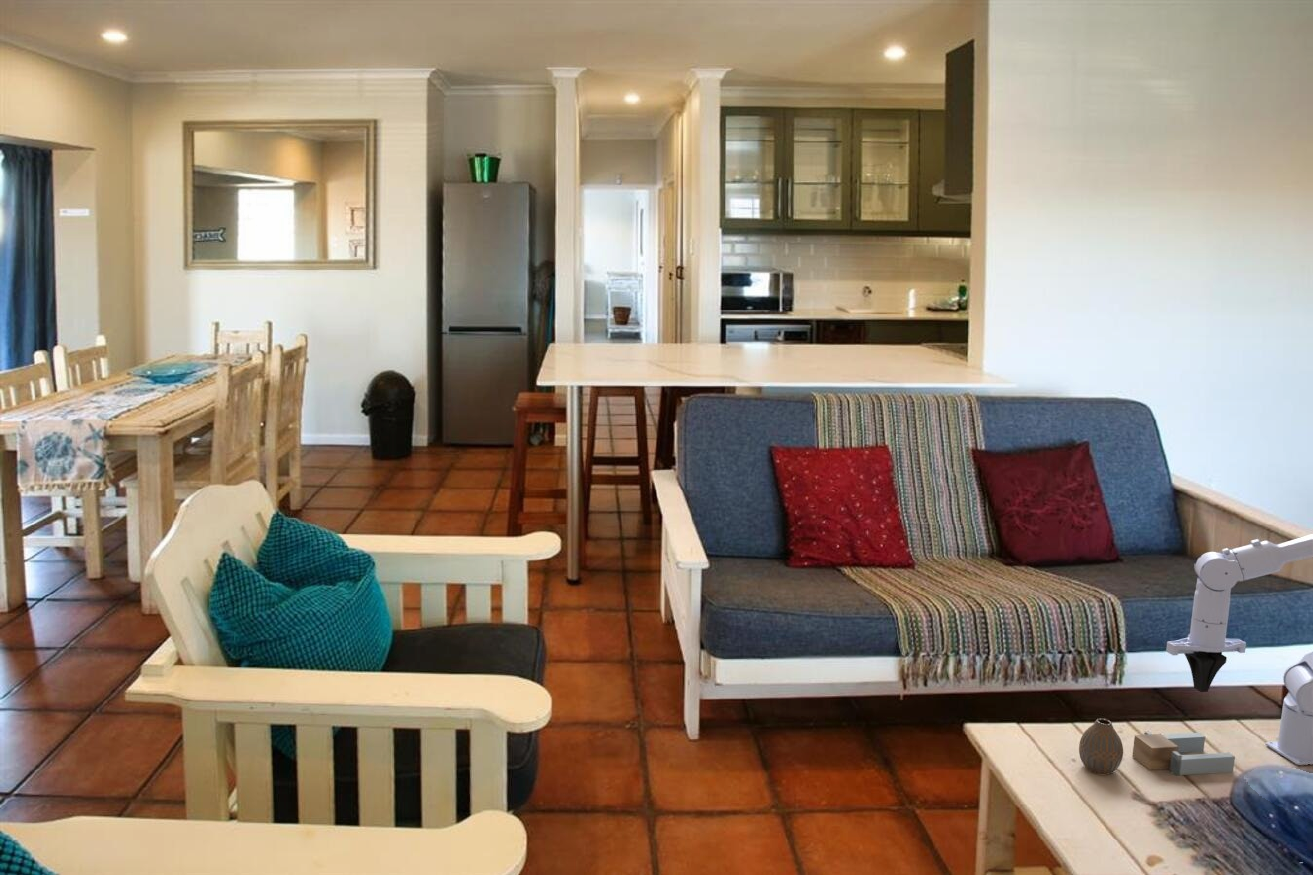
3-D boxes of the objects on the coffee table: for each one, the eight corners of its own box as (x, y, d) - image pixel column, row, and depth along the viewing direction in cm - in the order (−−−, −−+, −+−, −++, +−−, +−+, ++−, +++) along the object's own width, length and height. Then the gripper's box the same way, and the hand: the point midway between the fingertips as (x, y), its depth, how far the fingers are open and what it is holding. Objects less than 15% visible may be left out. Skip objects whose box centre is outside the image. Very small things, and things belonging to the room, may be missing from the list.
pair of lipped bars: (1197, 747, 183) (1200, 728, 183) (1233, 771, 175) (1235, 752, 174) (1142, 750, 182) (1144, 731, 181) (1175, 775, 173) (1177, 755, 172)
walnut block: (1158, 755, 180) (1160, 733, 179) (1175, 768, 175) (1178, 746, 174) (1132, 756, 179) (1134, 735, 178) (1149, 769, 174) (1152, 748, 174)
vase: (1112, 761, 177) (1117, 714, 176) (1126, 780, 171) (1132, 732, 169) (1072, 758, 178) (1076, 711, 177) (1084, 777, 171) (1089, 729, 170)
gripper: (1229, 610, 188) (1221, 679, 191) (1159, 612, 186) (1150, 682, 188) (1257, 623, 181) (1248, 695, 184) (1184, 626, 179) (1175, 698, 181)
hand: (1200, 689), depth 186 cm, fingers closed
